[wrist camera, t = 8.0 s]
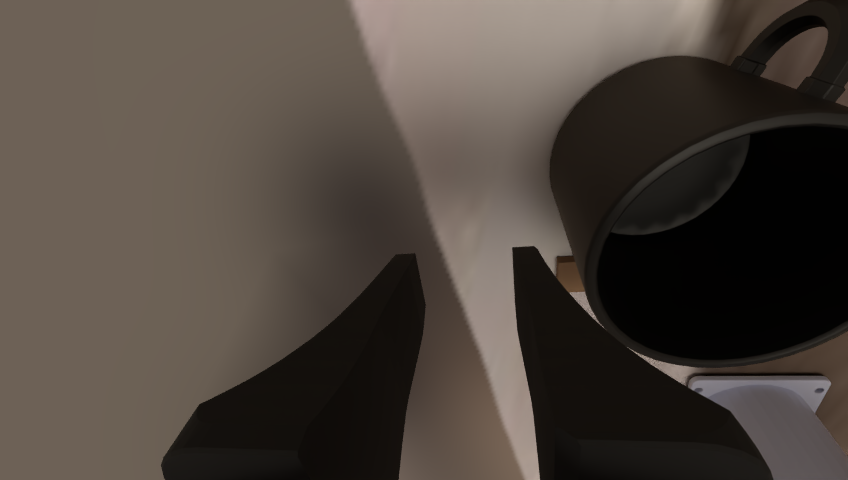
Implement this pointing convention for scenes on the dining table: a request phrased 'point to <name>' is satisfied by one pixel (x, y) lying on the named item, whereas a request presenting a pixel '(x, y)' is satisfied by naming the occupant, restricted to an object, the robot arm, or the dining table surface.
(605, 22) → the dining table surface
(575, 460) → the robot arm
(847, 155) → the mug
